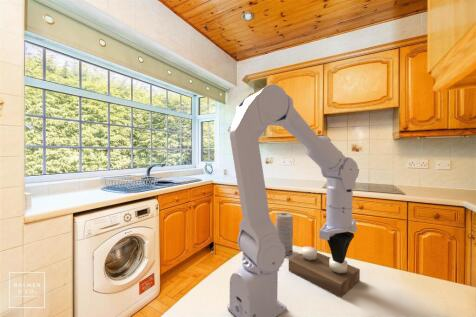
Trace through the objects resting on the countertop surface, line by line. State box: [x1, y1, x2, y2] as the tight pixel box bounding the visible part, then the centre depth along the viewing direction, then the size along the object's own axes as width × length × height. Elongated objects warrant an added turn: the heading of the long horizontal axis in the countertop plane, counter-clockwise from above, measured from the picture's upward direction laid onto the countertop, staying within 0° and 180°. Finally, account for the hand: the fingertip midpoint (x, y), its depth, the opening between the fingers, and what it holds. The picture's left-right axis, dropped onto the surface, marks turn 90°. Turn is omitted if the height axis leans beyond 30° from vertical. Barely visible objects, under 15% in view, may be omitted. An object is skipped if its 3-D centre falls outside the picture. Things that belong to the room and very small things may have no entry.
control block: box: [288, 252, 361, 299], centre depth 55 cm, size 10×14×3 cm
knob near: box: [329, 257, 348, 274], centre depth 52 cm, size 4×4×5 cm
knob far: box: [301, 246, 318, 261], centre depth 58 cm, size 4×4×5 cm
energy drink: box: [275, 212, 294, 256], centre depth 69 cm, size 5×5×12 cm
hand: (338, 261), depth 52 cm, fingers closed, pressing on knob near
